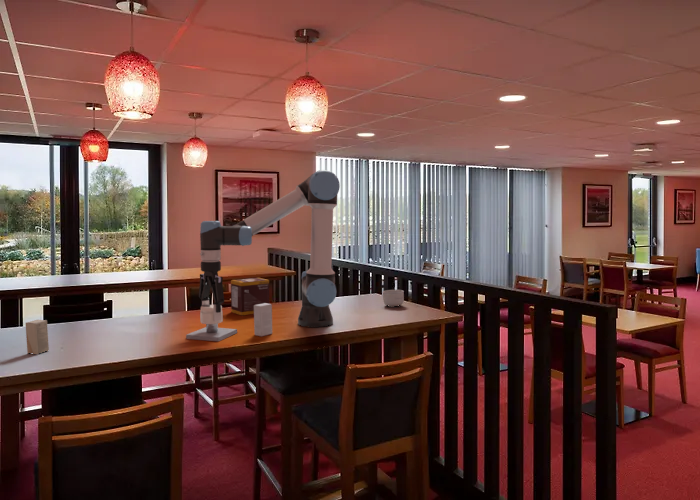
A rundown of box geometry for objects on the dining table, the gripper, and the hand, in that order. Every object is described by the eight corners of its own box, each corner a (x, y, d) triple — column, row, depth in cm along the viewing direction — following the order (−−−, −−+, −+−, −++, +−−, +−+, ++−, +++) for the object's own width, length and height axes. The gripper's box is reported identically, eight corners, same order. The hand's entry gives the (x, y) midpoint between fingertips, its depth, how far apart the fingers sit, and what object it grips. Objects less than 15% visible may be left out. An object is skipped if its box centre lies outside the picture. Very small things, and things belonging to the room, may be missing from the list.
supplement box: (270, 311, 251) (269, 279, 250) (241, 315, 242) (240, 282, 240) (259, 308, 259) (258, 277, 258) (230, 312, 249) (230, 280, 248)
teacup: (397, 309, 258) (397, 293, 257) (378, 306, 264) (378, 291, 263) (410, 304, 269) (410, 289, 269) (391, 302, 275) (391, 287, 275)
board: (237, 332, 208) (237, 329, 208) (218, 341, 195) (218, 337, 194) (206, 330, 212) (206, 326, 212) (186, 338, 199) (186, 334, 198)
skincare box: (265, 332, 209) (265, 302, 208) (272, 333, 207) (272, 304, 206) (253, 334, 205) (253, 304, 204) (260, 336, 202) (260, 306, 201)
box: (39, 350, 182) (38, 319, 181) (49, 351, 181) (48, 319, 180) (26, 354, 177) (24, 322, 176) (36, 355, 176) (34, 323, 175)
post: (220, 331, 205) (219, 310, 204) (214, 333, 200) (213, 313, 200) (210, 330, 206) (209, 310, 205) (204, 332, 202) (203, 312, 201)
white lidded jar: (225, 320, 206) (225, 303, 205) (215, 324, 198) (215, 307, 197) (207, 319, 208) (207, 302, 207) (196, 323, 200) (196, 306, 199)
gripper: (189, 259, 206) (189, 315, 208) (215, 263, 191) (216, 324, 192) (206, 258, 211) (207, 313, 213) (233, 262, 196) (234, 321, 198)
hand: (211, 318), depth 203 cm, fingers closed on white lidded jar, 8 cm apart
